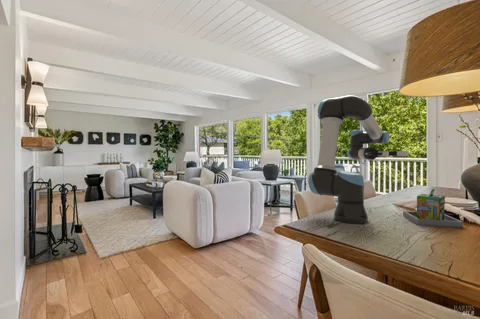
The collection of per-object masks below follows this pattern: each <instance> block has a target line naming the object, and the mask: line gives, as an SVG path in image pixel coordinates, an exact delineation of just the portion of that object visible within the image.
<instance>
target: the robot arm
mask: <svg viewBox="0 0 480 319" xmlns="http://www.w3.org/2000/svg"><path fill="white" fill-rule="evenodd" d="M317 117H318V119H319V121H320V122H321V123H322V128H321V129H322V130H321V138H320V146H319V151H318V161H317V166H315V167H314V169H313V171H312V172H310V173H309V175H308V179H307V183H308V188H309V190H310V191H311V192H312V193H313V194H314V195H320V196H329V197H337V204H336V207H335V209H334V213H333V219H334V220H336V221H338V222H341V223H347V224H364V223H365V224H366V223H368V221H369V216H368V213H367V211H366V207H365V202H364V201H365V198H364V197H365V182H364V181H365V180H364V179H365V178H364V175H362V174H361V173H359V172H353V171H349V170H347V171H346V170H339V171H338V170H337V169H336V168H335V164H336V158H337V149H338V140H339V133H340V126H341V125H342V124H343V123H344V119H348V118H349V119H351V118H353V119H354V120H355V121H358V123H360V125H361V126H362V128H363V129H352V130H351V132H350V148H348V150H347V152H346V156H347V157H348V159H350V160H363V161H366V160H369V161H370V160H371V161H372V160H373V161H374V160H375V159H376V158H381V157H392V156H393V157H395V156H396V157H409V150H404V151H403V150H399V149H398V150H397V151H388V150H387V151H385V150H378V149H377V148H375V147H364V145H375V144H376V145H378V144H379V145H380V144H382V145H383V144H389V141H390V133H389V131H386V130H383V131H382V129H381V127H380V125H379V123H378V122H377V120H376V118H375V116H374V115H373V109H372V105H370V104H369V102H367V101H366V100H365V99H363V98H361V97H360V96H356V95H350V94H349V95H343V96H339V97H338V96H337V97H331V98H329V97H328V98H326V99H322V100H321V101H320V103H319V104H318V108H317Z"/></svg>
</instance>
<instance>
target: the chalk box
mask: <svg viewBox="0 0 480 319" xmlns="http://www.w3.org/2000/svg"><path fill="white" fill-rule="evenodd" d="M434 193H435V188H433V189H431V191H430V193H420V194H419V195H417V196H416V211H417V218H418V219H427V220H444V214H445V206H446V205H445V204H446V203H445V202H446V196H445V195H438V194H434Z"/></svg>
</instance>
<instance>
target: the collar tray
mask: <svg viewBox="0 0 480 319" xmlns="http://www.w3.org/2000/svg"><path fill="white" fill-rule="evenodd" d="M402 217H405V218H406V219H408V220H409V221H411V222H412V223H414V224H416V225H417V226H424V227H425V226H426V227H427V226H428V227H429V226H430V227H445V228H446V227H448V228H464V227H463V225H464V224H463V223H464V221H462V220H460V219H458V218H454V217H453V216H450V215H448V214H446V213H444V220H427V219H418V218H417V210H416V211H415V210H414V211H413V210H411V211H409V210H402Z"/></svg>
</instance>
